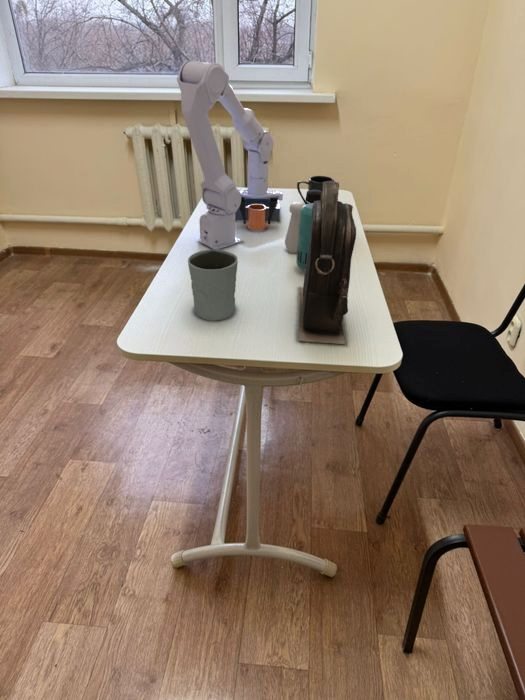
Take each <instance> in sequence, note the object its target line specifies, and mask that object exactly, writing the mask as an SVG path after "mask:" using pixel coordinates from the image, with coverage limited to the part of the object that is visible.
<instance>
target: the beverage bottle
mask: <svg viewBox="0 0 525 700" xmlns="http://www.w3.org/2000/svg"><path fill="white" fill-rule="evenodd" d="M321 193H322V191H320V190H309V191H308V190H307V191H306V194H305V200H306V201H307V202H308V203H309V204H306V205H304V206H303V207H302V208H301V210H300V223H299V230H298V231H299V238H298V243H297V244H298V246H297V249H298V252H297V253H296V266H297V267H298V268H299V269H302V270H304V271H305V268H306V261H307V255H308V248H309V240H310V230H311V220H312V208H313V204H314V201H321Z"/></svg>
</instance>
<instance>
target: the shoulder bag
mask: <svg viewBox="0 0 525 700" xmlns="http://www.w3.org/2000/svg"><path fill="white" fill-rule="evenodd" d="M339 188H340V182H338V181H335V180H334V181H325V182H322V193H321V201H314V204H313V208H312V220H311V230H310V240H309V248H308V255H307V261H306V268H305V270H304V277H303V284H302V287H301V288H299V306H298V311H299V312H298V313H299V314H298V341H299V342H309V343H321V344H322V343H323V344H340V345H345V344H346V341H345V332H344V325H343V323H344V322H343V321H344V316H346V315H347V313H348V311H349V308H348V307H349V306H348V301H349V299H348V297H349V295H348V294H349V289H350V280H351V267H352V258H353V253H354V248H355V243H356V239H357V227H356V223H355V220H354V216H353V210H354V209H353V208H354V207H353V204H351V203H343V202H342V201H341V200H339Z"/></svg>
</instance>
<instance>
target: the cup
mask: <svg viewBox="0 0 525 700" xmlns="http://www.w3.org/2000/svg"><path fill="white" fill-rule="evenodd" d="M266 218H267V207H266V206H265V205H262V204H251V205H249V206H248V219H247V220H246V224H247V228H248V229H249V230H251V231H263V230H266V228H267V221H266Z"/></svg>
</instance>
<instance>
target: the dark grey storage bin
mask: <svg viewBox="0 0 525 700" xmlns="http://www.w3.org/2000/svg"><path fill="white" fill-rule="evenodd" d="M251 204H262V205H265V206H266V207H267V218H266V222H268V214H269V199H246V207H245V210H246V221H247V219H248V206H249V205H251ZM280 210H281V208H280V200H279V199H278V204H277V207H276V208H275V210H274V213H273V215H272V218H271V222H280V215H281V214H280V212H281V211H280ZM235 221H243V217H242V214H241V211H240V209H239V208H238V209H237V212H235Z"/></svg>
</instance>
